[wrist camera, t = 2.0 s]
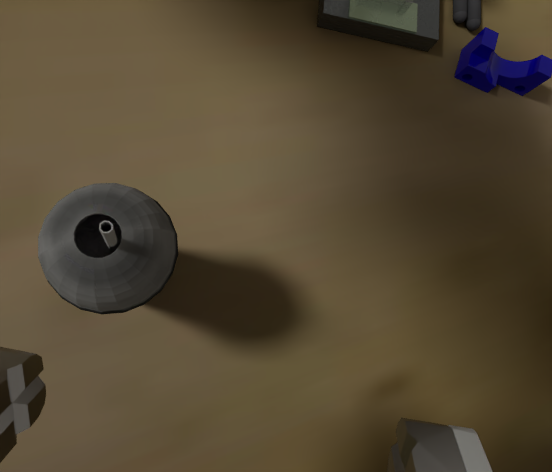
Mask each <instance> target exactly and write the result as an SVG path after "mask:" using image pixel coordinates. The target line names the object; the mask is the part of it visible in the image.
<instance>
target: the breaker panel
mask: <svg viewBox="0 0 552 472" xmlns="http://www.w3.org/2000/svg"><path fill="white" fill-rule="evenodd" d="M317 27H322V28H326V29H330V30H335V31H339V32H344V33H348V34H352V35H357V36H361V37H366V38H370V39H374V40H379V41H383V42H388V43H392V44H396V45H401V46H405V47H410V48H414V49H418V50H423V51H427V52H428V51H429V50H430V49H431V48H432V47H433V45H434V44H435V43H436V42H437V41H438V40H439V0H319V9H318V21H317Z"/></svg>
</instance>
